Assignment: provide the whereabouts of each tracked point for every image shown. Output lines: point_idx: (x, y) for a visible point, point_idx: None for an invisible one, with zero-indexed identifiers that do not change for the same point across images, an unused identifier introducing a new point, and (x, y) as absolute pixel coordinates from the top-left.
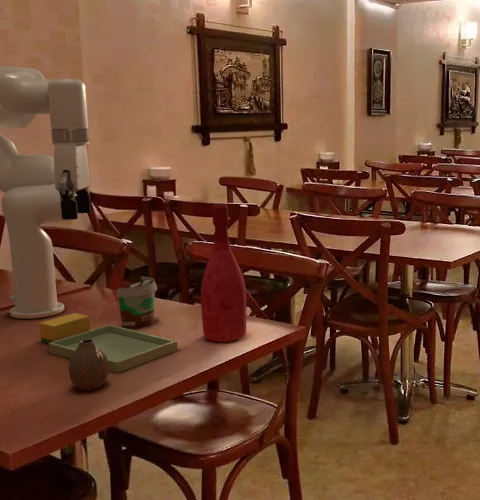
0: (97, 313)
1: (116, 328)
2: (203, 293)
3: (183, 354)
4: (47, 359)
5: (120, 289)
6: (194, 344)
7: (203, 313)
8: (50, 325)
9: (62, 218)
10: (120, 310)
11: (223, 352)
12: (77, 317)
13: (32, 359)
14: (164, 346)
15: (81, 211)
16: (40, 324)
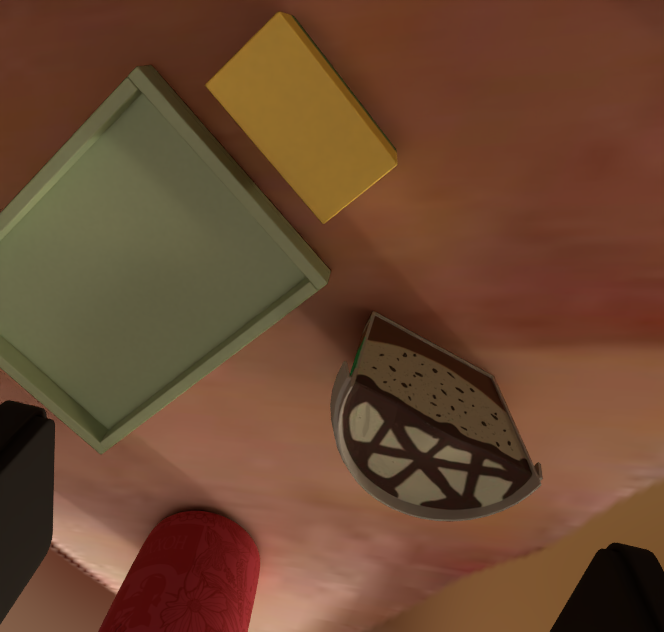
0: (634, 224)
1: (280, 303)
2: (122, 628)
3: (79, 445)
4: (79, 66)
5: (345, 392)
6: (157, 478)
7: (154, 567)
8: (221, 70)
9: (9, 406)
10: (364, 340)
11: (83, 524)
12: (317, 179)
13: (85, 7)
14: (65, 420)
15: (579, 606)
16: (275, 16)
